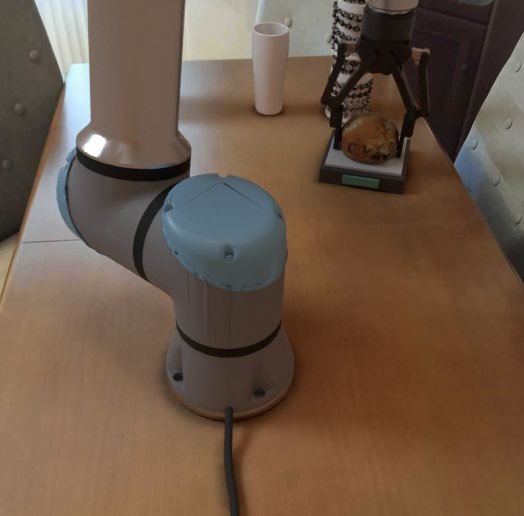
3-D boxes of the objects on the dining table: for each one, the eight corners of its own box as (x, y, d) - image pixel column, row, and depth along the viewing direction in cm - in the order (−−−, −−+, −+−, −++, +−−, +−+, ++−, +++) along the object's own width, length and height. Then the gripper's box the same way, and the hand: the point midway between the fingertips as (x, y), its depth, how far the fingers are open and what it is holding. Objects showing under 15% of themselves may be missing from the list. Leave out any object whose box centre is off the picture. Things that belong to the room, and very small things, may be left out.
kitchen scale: (401, 195, 98) (405, 179, 96) (317, 183, 100) (319, 166, 98) (408, 152, 108) (411, 136, 106) (331, 141, 110) (333, 126, 108)
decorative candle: (314, 106, 119) (327, -38, 101) (355, 99, 122) (374, -43, 103) (336, 127, 114) (353, -22, 95) (378, 119, 116) (402, -28, 98)
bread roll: (392, 161, 107) (398, 113, 104) (399, 166, 97) (407, 113, 94) (336, 157, 107) (341, 109, 104) (338, 162, 98) (344, 109, 95)
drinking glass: (246, 105, 119) (245, 24, 108) (276, 99, 121) (279, 19, 110) (260, 120, 115) (261, 38, 104) (291, 114, 117) (296, 32, 106)
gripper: (471, 5, 86) (435, 147, 103) (317, -11, 90) (306, 130, 106) (471, 23, 81) (433, 170, 98) (308, 6, 85) (298, 151, 101)
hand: (367, 149), depth 102 cm, fingers closed on bread roll, 10 cm apart
